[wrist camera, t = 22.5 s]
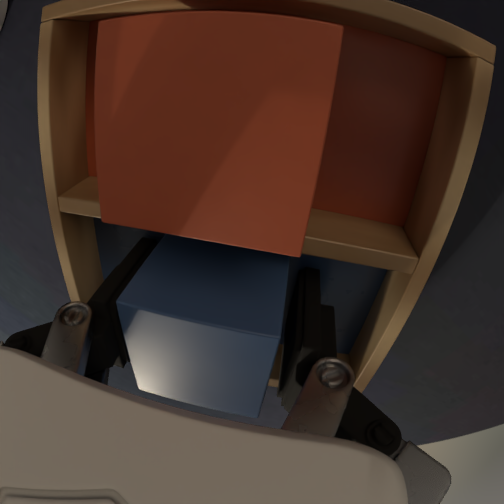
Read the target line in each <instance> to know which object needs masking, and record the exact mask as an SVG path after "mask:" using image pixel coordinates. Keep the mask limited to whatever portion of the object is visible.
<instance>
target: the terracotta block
mask: <svg viewBox="0 0 504 504" xmlns="http://www.w3.org/2000/svg"><path fill="white" fill-rule="evenodd" d="M343 29H344V28H343V26H341V25H337V24H333V23H328V22H322V21H317V20H311V19H305V18H298V17H291V16H283V15H274V14H263V13H250V12H230V11H187V12H167V13H155V14H144V15H135V16H128V17H121V18H114V19H108V20H102V21H100V22H99V24H98V34H97V46H96V61H95V86H94V127H95V153H96V169H97V182H98V193H99V203H100V212H101V220H102V222H103V223H109V224H115V225H120V226H126V227H132V228H137V229H143V230H149V231H154V232H160V233H166V234H171V235H177V236H182V237H188V238H194V239H199V240H205V241H210V242H216V243H222V244H227V245H233V246H238V247H244V248H249V249H255V250H261V251H266V252H272V253H277V254H283V255H288V256H294V257H300V256H301V253H302V249H303V244H304V240H305V236H306V231H307V227H308V222H309V218H310V213H311V209H312V204H313V199H314V194H315V190H316V185H317V180H318V175H319V170H320V165H321V160H322V155H323V150H324V144H325V139H326V134H327V128H328V123H329V117H330V112H331V106H332V100H333V94H334V88H335V82H336V76H337V70H338V63H339V57H340V50H341V43H342V36H343Z"/></svg>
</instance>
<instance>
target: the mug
mask: <svg viewBox="0 0 504 504" xmlns="http://www.w3.org/2000/svg"><path fill="white" fill-rule="evenodd" d="M7 5H8V0H0V31H1V28H2V25H3V23H4V19H5V16H6V12H7Z"/></svg>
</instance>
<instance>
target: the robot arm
mask: <svg viewBox="0 0 504 504" xmlns="http://www.w3.org/2000/svg"><path fill="white" fill-rule="evenodd" d="M157 245H158V244H157V241H156V240H155V239H150V238H145V237H142V238H141V239H140V240H139V241H138V243H137V244H136V245H135V246H134V247H133V248H132V250H131V251H130V252H129V253H128V254H127V256H126V257H125V258H124V259H123V260H122V262H121V263H120V264H119V265H117V266H116V267H115V268H114V269H113V271H112V272H111V273H110V274H109V275H108V277H107V278H106V279H105V280H104V282H103V283H102V284H101V285H100V287H99V288H98V289H97V290H96V292H95V293H94V294H93V296H92V297H91V298H90V299H89V301H88V302H87V303H84V302H80V301H73V302H69V303H66V304H65V305H63V306H62V307H61V308H60V309H58V311H57V313H56V315H55V318H54V320H53V322H50V323H46V324H43V325H40V326H36V327H33V328H30V329H27V330H23V331H20V332H17V333H15V334H13V335H11V336H10V337H9V338H8V339H7V340H6V342H5V344H4V343H3V341H0V504H440V502H441V501H442V499H443V498H444V496H445V494H446V493H447V491H448V489H449V487H450V484H451V475H450V473H449V471H448V470H447V469H446V467H444V466H443V465H441V464H440V463H439V462H438V461H436V460H435V459H433V458H432V457H431V456H429V455H428V454H427V453H425V452H424V451H422V450H421V449H420V448H419V447H417V446H416V445H415V444H413V443H412V442H411V441H410V440H409V441H408V442H406V441H404V440H403V439H402V437H401V432H400V430H399V428H398V426H397V425H396V424H395V423H394V422H393V421H392V420H391V419H390V418H388V417H387V416H386V415H385V414H384V413H383V412H382V411H381V410H379V409H378V408H377V407H376V406H375V405H374V404H373V403H372V402H370V401H369V400H368V399H367V398H366V397H365V396H364V395H363V394H362V393H361V392H359V391H358V390H357V389H356V388H355V387H354V386H353V385H354V382H355V375H354V371H353V370H352V368H351V366H350V365H348V364H347V363H346V362H345V361H343V360H341V359H339V358H337V346H336V327H335V311H334V307H333V306H330V305H324V304H321V289H320V270H319V269H315V268H309V267H305V269H304V270H299V272H298V276H297V280H296V285H295V289H294V292H293V296H292V300H291V304H290V308H289V312H288V316H287V320H286V325H285V332H284V341H283V350H282V358H281V367H280V375H279V383H278V391H277V397H282V402H281V406H284V408H285V409H286V411H287V412H288V413H289V414H288V416H287V418H286V420H285V422H284V424H283V426H282V427H281V429H275V428H269V427H263V426H257V425H252V424H246V423H241V422H236V421H231V420H226V419H222V418H217V417H213V416H208V415H204V414H200V413H196V412H192V411H188V410H184V409H181V408H177V407H173V406H170V405H166V404H163V403H159V402H156V401H153V400H149V399H146V398H143V397H140V396H137V395H134V394H131V393H128V392H125V391H122V390H119V389H116V388H113V387H110V386H108V385H107V384H108V377H109V368H110V367H113V365H116V366H119V367H122V368H124V366H125V364H126V362H127V361H128V362H130V358H129V354H128V350H127V347H126V343H125V339H124V335H123V331H122V327H121V322H120V318H119V314H118V309H117V304H116V301H117V299H118V298H119V296H120V295H121V293H122V292H123V291H124V289H125V288H126V286H127V285H128V284H129V282H130V281H131V279H132V278H133V277H134V275H135V274H136V273H137V271H138V270H139V268H140V267H141V266H142V264H143V263H144V262H145V260H146V259H147V258H148V256H149V255H150V254H151V252H152V251H153V250H154V248H155V247H156V246H157Z"/></svg>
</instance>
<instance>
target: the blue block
mask: <svg viewBox="0 0 504 504" xmlns="http://www.w3.org/2000/svg"><path fill="white" fill-rule="evenodd" d="M289 261H290V256H288V255H283V254H277V253H272V252H266V251H261V250H255V249H249V248H244V247H238V246H233V245H227V244H222V243H216V242H210V241H205V240H199V239H194V238H188V237H182V236H177V235H171V234H165V235H164V237H163V238H162V239H161V241H160V242H159V243H158V245H157V246H156V247H155V248H154V250H153V251H152V252H151V254H150V255H149V256H148V258H147V259H146V260H145V262H144V263H143V264H142V266H141V267H140V268H139V270H138V271H137V273H136V274H135V275H134V277H133V278H132V279H131V281H130V282H129V284H128V285H127V286H126V288H125V289H124V291H123V292H122V293H121V295H120V296H119V298H118V299H117V301H116V304H117V309H118V314H119V318H120V322H121V327H122V331H123V335H124V339H125V343H126V347H127V350H128V354H129V358H130V361H131V365H132V369H133V372H134V375H135V379H136V382H137V385H138V388H139V389H140V390H143V391H147V392H150V393H153V394H156V395H160V396H163V397H167V398H170V399H174V400H178V401H181V402H185V403H189V404H193V405H197V406H201V407H205V408H210V409H214V410H218V411H223V412H228V413H233V414H238V415H243V416H248V417H254V418H258V416H259V413H260V410H261V406H262V403H263V400H264V396H265V393H266V389H267V386H268V382H269V379H270V375H271V372H272V368H273V365H274V361H275V357H276V354H277V350H278V346H279V343H280V339H281V332H282V324H283V315H284V307H285V298H286V289H287V280H288V270H289Z"/></svg>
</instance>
